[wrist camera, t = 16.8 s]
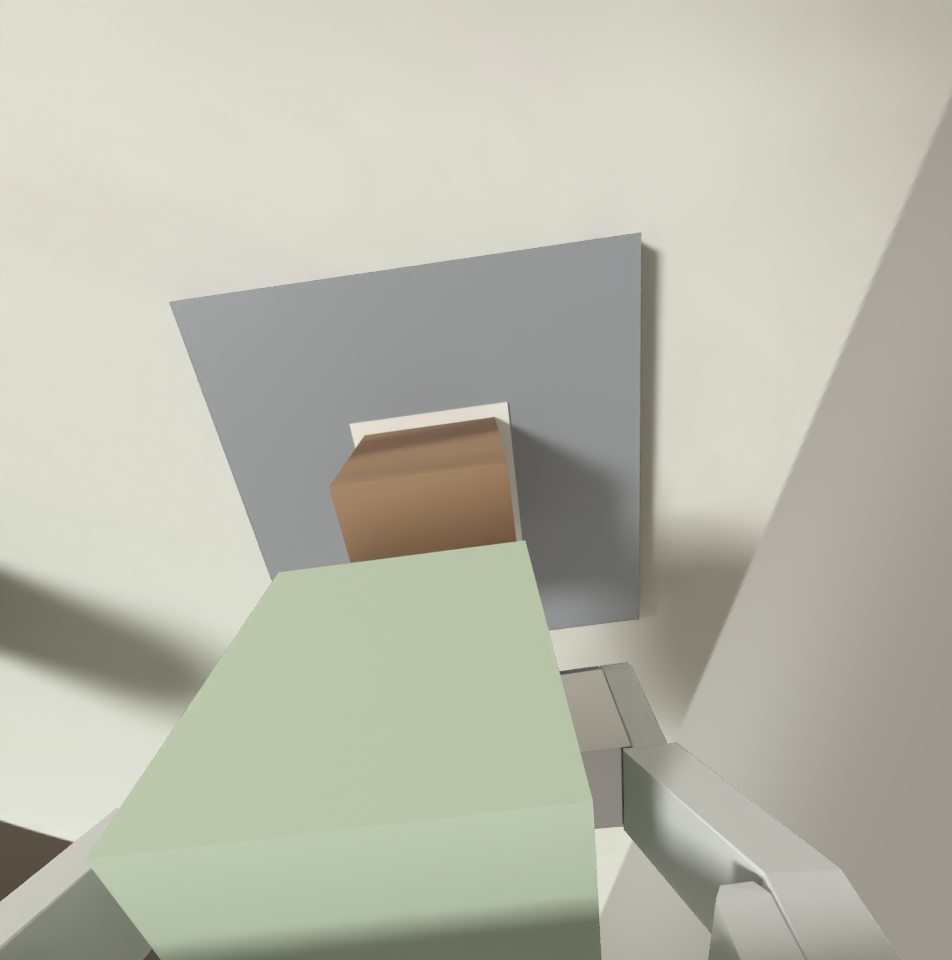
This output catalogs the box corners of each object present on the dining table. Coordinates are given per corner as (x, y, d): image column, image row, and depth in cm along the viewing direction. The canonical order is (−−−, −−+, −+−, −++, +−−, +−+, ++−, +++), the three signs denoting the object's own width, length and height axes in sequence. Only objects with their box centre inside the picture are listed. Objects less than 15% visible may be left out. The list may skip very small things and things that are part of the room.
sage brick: (278, 572, 9) (86, 859, 4) (525, 540, 9) (593, 800, 4) (339, 745, 11) (248, 1075, 6) (543, 721, 11) (605, 1038, 6)
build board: (185, 301, 16) (167, 301, 15) (630, 236, 16) (642, 232, 15) (308, 646, 22) (301, 663, 21) (631, 605, 22) (639, 619, 21)
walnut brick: (364, 435, 17) (328, 486, 13) (494, 416, 17) (507, 462, 12) (391, 547, 19) (369, 628, 14) (509, 532, 19) (524, 608, 14)
